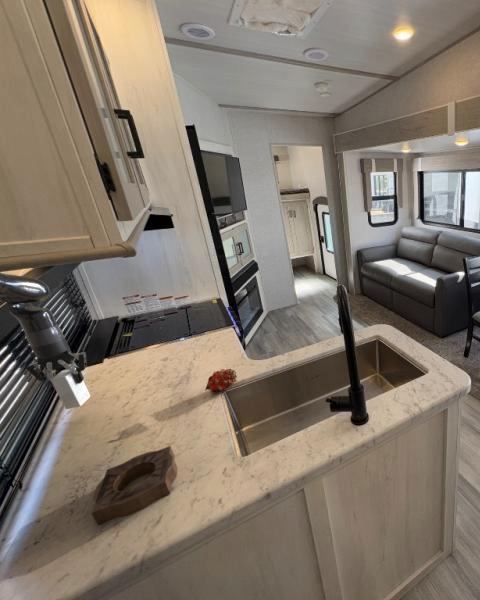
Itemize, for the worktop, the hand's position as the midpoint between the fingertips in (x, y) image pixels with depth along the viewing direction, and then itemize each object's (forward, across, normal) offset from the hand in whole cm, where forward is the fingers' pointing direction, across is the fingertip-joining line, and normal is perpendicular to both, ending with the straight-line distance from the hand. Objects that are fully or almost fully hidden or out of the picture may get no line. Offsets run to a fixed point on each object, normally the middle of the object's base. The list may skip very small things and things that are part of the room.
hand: (69, 385), depth 104 cm
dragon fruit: (+13, -43, +12) cm, 47 cm away
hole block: (+14, -22, +48) cm, 54 cm away
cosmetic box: (+8, 0, 0) cm, 8 cm away
